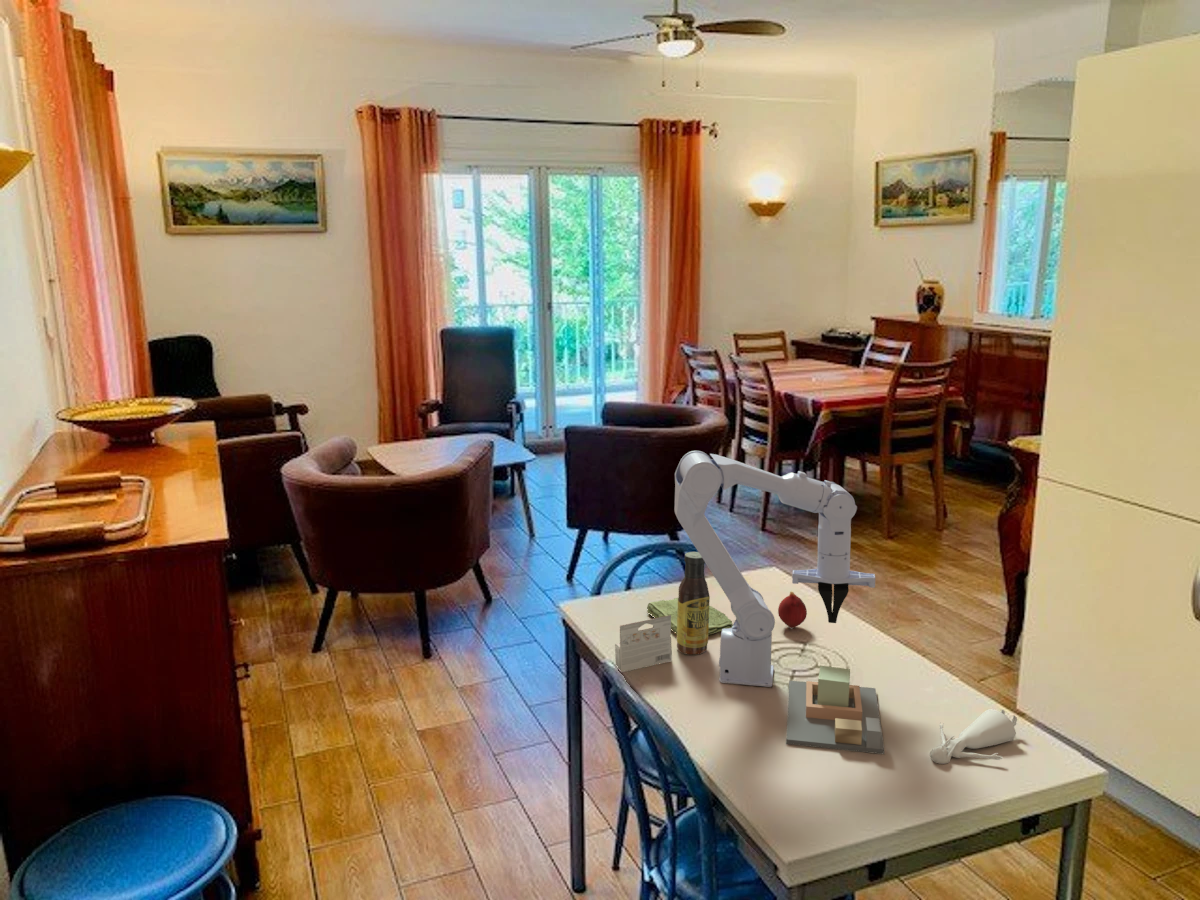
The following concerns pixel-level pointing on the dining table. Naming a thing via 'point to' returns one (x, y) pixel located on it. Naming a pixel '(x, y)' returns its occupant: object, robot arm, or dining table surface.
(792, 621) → the onion
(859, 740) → the tan eraser block
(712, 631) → the washcloth
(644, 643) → the ink cartridge box
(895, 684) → the dining table surface
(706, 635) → the sauce bottle
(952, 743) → the woman figurine
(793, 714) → the housing
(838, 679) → the sage green cube
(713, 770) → the dining table surface
